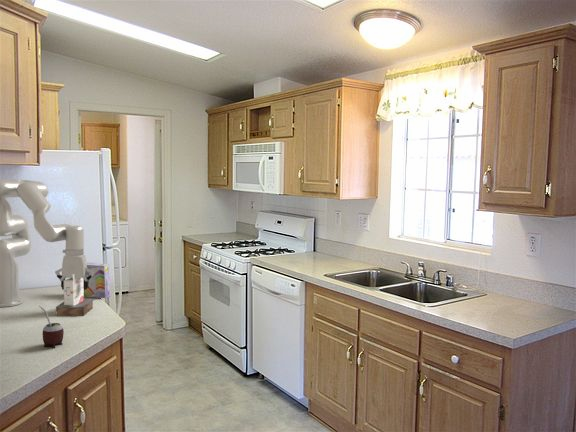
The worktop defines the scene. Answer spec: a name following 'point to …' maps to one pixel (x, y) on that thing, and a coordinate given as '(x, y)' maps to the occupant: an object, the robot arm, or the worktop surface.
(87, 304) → the display podium
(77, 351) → the worktop surface
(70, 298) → the ink cartridge box
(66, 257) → the robot arm
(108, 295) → the cake pan box
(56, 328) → the mate gourd
